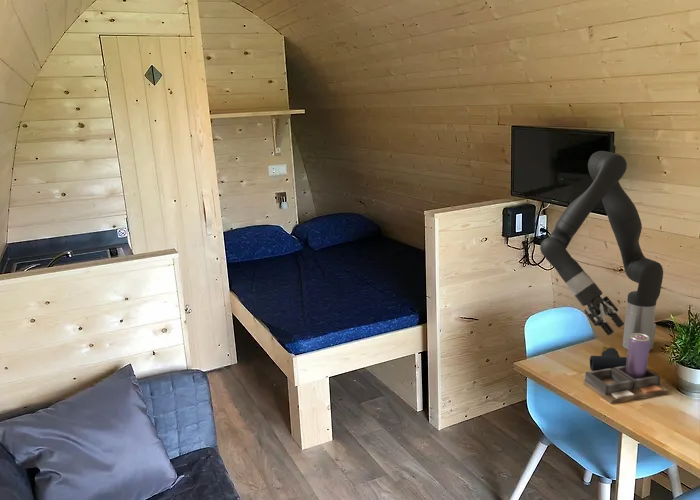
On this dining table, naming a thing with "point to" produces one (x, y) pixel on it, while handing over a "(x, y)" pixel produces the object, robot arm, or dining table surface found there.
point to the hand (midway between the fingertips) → (616, 329)
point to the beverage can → (637, 355)
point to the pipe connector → (607, 359)
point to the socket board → (623, 385)
